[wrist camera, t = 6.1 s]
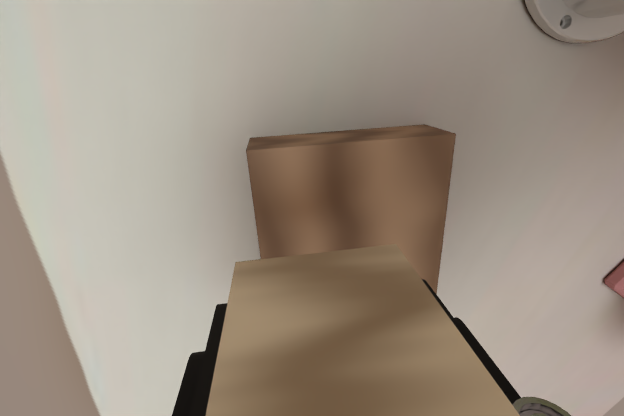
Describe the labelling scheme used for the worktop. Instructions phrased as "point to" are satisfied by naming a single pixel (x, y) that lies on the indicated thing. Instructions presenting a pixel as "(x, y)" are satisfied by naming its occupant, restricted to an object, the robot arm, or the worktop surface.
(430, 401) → the maple block
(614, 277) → the pink and yellow block
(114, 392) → the worktop surface
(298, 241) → the brown wooden flat block
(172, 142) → the worktop surface
